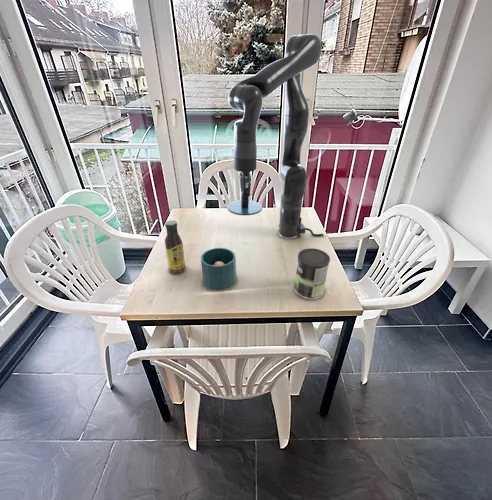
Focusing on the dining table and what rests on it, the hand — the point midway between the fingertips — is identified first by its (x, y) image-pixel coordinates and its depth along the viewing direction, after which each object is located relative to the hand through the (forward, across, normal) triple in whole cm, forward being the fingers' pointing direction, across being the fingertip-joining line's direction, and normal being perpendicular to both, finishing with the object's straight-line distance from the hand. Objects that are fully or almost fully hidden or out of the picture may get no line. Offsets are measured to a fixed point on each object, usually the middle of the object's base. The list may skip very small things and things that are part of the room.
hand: (245, 203), depth 103 cm
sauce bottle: (+25, -4, +26) cm, 36 cm away
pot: (+24, -13, +10) cm, 29 cm away
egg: (+24, -13, +10) cm, 29 cm away
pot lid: (+2, 0, 0) cm, 2 cm away
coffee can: (+24, -22, -21) cm, 38 cm away
